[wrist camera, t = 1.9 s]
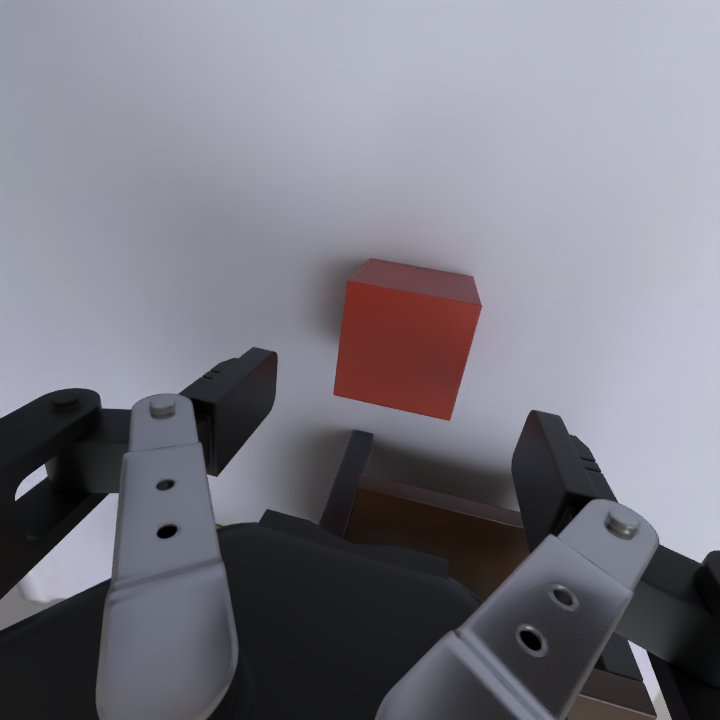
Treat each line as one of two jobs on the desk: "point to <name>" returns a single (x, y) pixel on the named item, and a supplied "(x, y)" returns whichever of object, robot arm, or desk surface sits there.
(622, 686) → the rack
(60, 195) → the desk surface
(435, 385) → the block
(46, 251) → the desk surface
